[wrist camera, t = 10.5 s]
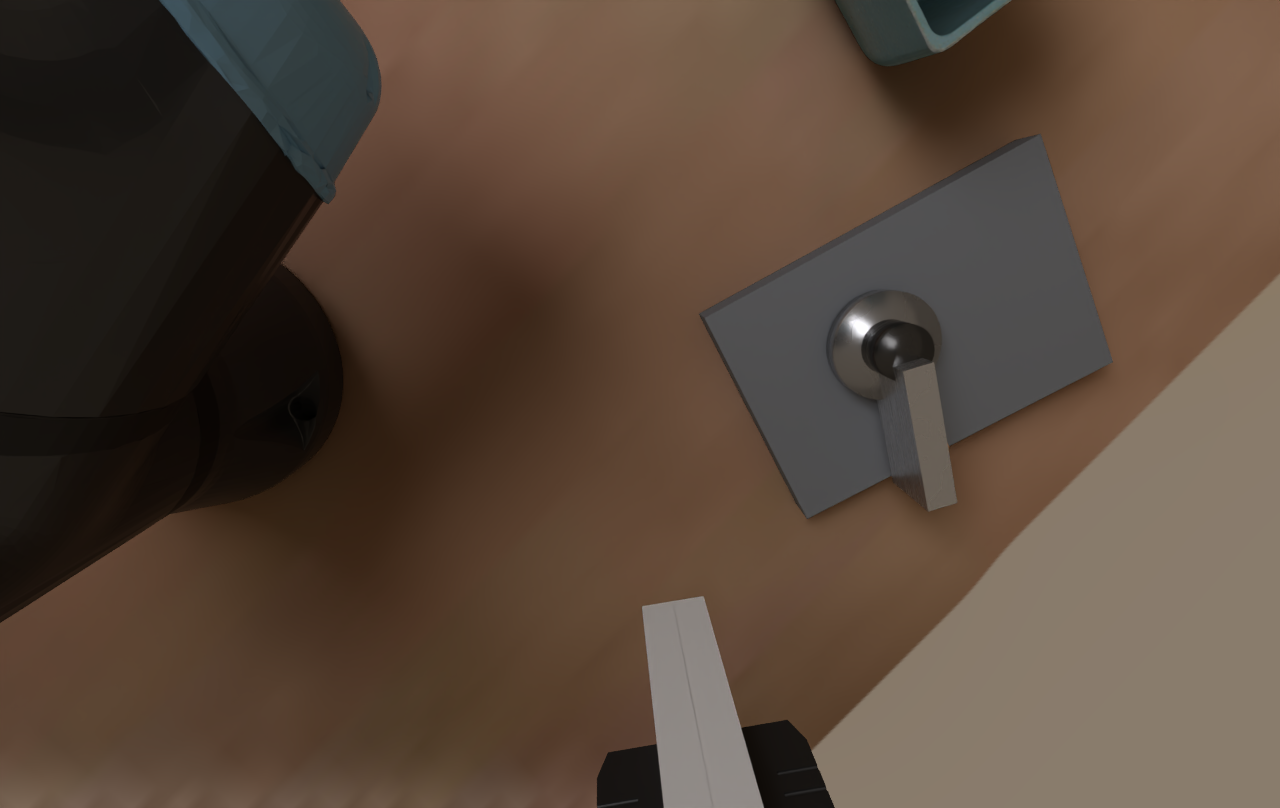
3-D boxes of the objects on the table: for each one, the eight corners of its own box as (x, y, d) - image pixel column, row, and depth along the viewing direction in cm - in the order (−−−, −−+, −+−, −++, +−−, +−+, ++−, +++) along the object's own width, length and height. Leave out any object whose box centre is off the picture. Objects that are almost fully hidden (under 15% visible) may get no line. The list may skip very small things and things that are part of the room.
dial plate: (698, 313, 35) (705, 318, 33) (1015, 139, 33) (1043, 133, 31) (796, 504, 39) (808, 520, 36) (1086, 355, 37) (1115, 362, 35)
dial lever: (816, 307, 33) (846, 317, 29) (921, 275, 33) (967, 280, 29) (855, 491, 36) (888, 523, 32) (951, 462, 36) (997, 491, 32)
